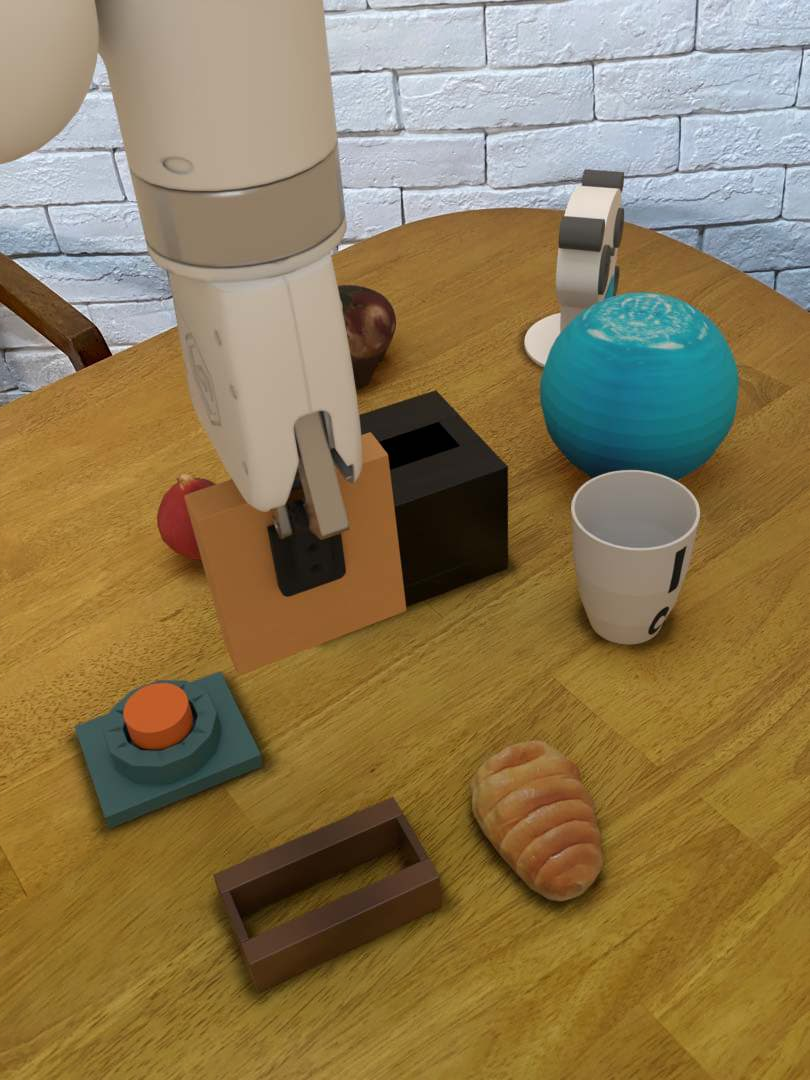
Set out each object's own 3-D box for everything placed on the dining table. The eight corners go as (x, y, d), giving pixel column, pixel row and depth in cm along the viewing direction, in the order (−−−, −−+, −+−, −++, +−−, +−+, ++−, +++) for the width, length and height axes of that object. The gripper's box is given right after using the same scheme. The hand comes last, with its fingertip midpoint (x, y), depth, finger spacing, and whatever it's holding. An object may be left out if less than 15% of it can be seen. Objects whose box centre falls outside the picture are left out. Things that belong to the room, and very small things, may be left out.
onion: (218, 522, 90) (200, 440, 85) (258, 557, 86) (242, 474, 81) (154, 555, 87) (131, 473, 82) (193, 593, 84) (172, 510, 78)
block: (109, 829, 68) (97, 799, 66) (78, 737, 74) (67, 707, 72) (263, 766, 71) (257, 735, 69) (223, 682, 77) (216, 652, 75)
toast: (239, 676, 55) (196, 520, 48) (226, 649, 56) (183, 494, 49) (407, 611, 57) (388, 454, 50) (391, 587, 58) (370, 431, 52)
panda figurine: (634, 387, 101) (647, 230, 91) (510, 372, 104) (510, 218, 94) (654, 320, 109) (669, 169, 99) (539, 307, 112) (542, 161, 102)
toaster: (322, 639, 79) (306, 537, 73) (267, 548, 87) (249, 449, 81) (508, 568, 84) (508, 466, 77) (441, 488, 91) (436, 389, 85)
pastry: (632, 883, 63) (636, 844, 61) (522, 924, 62) (522, 886, 59) (559, 759, 70) (560, 719, 68) (458, 794, 69) (456, 755, 66)
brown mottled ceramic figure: (279, 415, 101) (263, 333, 96) (315, 336, 112) (302, 260, 108) (386, 413, 99) (375, 330, 94) (411, 334, 111) (402, 257, 106)
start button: (139, 760, 69) (132, 741, 68) (122, 715, 72) (116, 697, 70) (201, 735, 70) (196, 716, 69) (182, 692, 73) (177, 674, 72)
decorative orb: (511, 503, 89) (511, 338, 80) (572, 402, 99) (579, 244, 90) (700, 548, 84) (725, 377, 74) (744, 437, 94) (772, 273, 84)
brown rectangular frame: (257, 993, 60) (249, 965, 58) (221, 903, 64) (212, 874, 62) (442, 906, 63) (440, 876, 61) (396, 826, 67) (393, 795, 65)
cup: (674, 671, 75) (689, 559, 69) (554, 647, 77) (558, 537, 71) (692, 590, 81) (708, 480, 74) (580, 570, 83) (586, 461, 76)
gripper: (93, 148, 46) (180, 498, 58) (207, 319, 35) (285, 709, 47) (266, 109, 48) (315, 455, 60) (425, 259, 37) (447, 647, 49)
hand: (302, 564), depth 54 cm, fingers closed on toast, 2 cm apart
